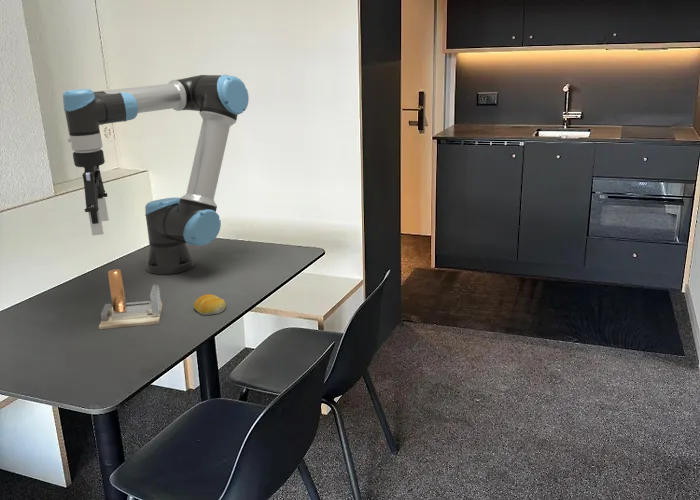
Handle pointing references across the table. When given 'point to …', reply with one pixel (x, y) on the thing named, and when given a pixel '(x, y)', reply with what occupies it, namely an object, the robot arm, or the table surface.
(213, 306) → the bread roll
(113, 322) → the board
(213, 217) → the robot arm
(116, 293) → the ram
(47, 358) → the table surface
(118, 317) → the rails
